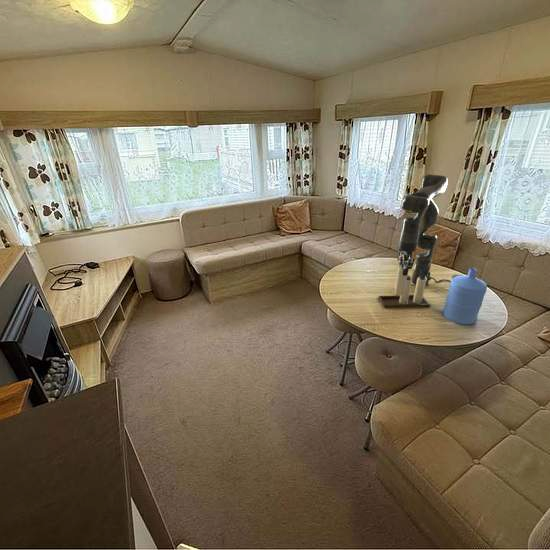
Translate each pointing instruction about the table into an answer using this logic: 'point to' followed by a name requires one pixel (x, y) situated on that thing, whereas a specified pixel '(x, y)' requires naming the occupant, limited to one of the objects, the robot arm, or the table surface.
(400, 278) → the cream pillar candle
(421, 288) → the bottle
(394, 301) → the tray
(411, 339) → the table surface
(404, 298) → the bottle
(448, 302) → the water jug
